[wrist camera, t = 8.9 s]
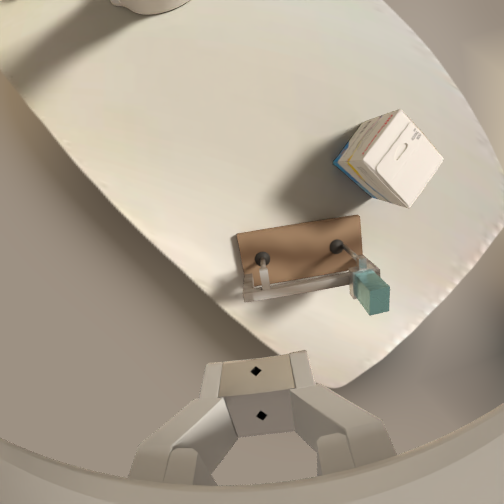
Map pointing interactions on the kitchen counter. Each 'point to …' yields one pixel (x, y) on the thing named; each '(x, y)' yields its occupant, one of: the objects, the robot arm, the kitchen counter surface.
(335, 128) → the kitchen counter surface
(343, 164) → the ink box
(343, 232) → the board
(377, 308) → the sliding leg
